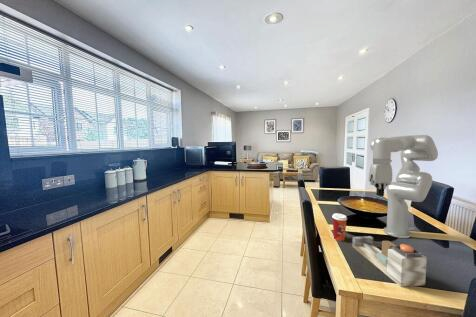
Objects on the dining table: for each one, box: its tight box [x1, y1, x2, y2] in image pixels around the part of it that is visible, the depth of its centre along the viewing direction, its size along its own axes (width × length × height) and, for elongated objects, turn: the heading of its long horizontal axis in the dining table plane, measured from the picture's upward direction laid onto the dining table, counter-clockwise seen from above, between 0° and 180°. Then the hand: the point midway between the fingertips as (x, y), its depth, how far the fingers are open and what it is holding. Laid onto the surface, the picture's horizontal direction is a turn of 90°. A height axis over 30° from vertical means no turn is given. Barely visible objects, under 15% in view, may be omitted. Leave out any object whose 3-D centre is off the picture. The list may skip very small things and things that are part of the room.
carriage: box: [376, 240, 396, 266], centre depth 84 cm, size 7×5×9 cm
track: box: [351, 235, 428, 288], centre depth 86 cm, size 10×28×13 cm, turn 3°
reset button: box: [399, 243, 415, 253], centre depth 75 cm, size 4×4×2 cm
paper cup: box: [331, 212, 348, 242], centre depth 109 cm, size 8×8×14 cm
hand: (380, 195), depth 101 cm, fingers closed
